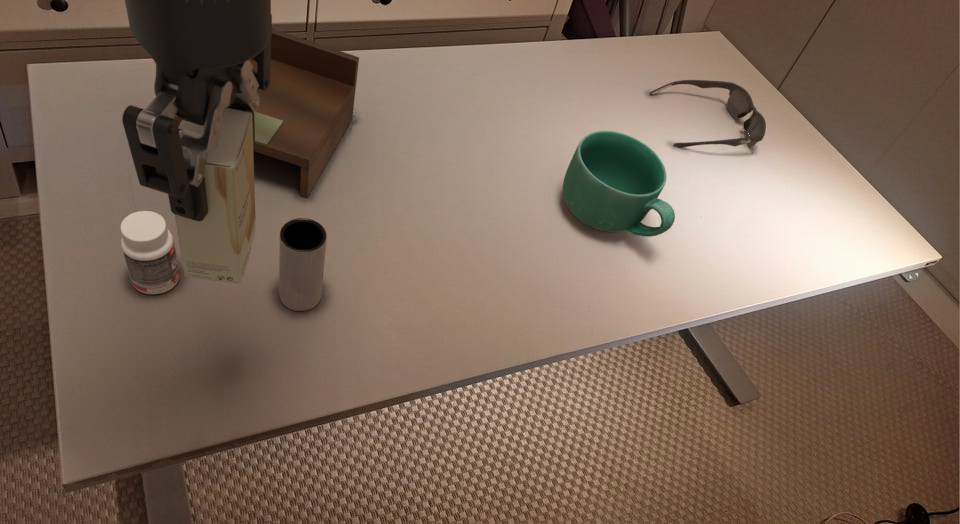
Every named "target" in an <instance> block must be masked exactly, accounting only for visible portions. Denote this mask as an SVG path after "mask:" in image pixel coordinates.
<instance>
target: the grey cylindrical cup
mask: <svg viewBox="0 0 960 524" xmlns="http://www.w3.org/2000/svg"><path fill="white" fill-rule="evenodd" d="M327 236H328V235H327V231H326V229H325V228H324V226H323V225H322V224H321V223H320V222H318V221H316V220H314V219H311V218H305V217H298V218H294V219H291V220H289V221H287V222H286V223H285V224H283V225H282V227H281V229H280V231H279V254H278V255H279V258H278V259H279V262H278V265H279V267H278V270H279V271H278V273H279V274H278V276H279V277H278V278H279V279H278V282H279V283H278V295H279V300H280V301H281V303H282V305H283V306H284V307H286V308H287V309H289V310H292V311H296V312H306V311H309V310H311V309H314V308H315V307H316V306H318V305H319V303H320V301H321V299H322V294H323V282H324V274H325V273H324V272H325V261H326V260H325V259H326V249H327V238H328V237H327Z"/></svg>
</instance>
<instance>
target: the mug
mask: <svg viewBox="0 0 960 524" xmlns="http://www.w3.org/2000/svg"><path fill="white" fill-rule="evenodd" d="M570 159H571V160H570V162H569V164H568V167H567V169H566V171H565V173H564V174H565V175H564V178H563V183H562V195H563V198H564V201H565V204H566V206H567V208H568V210H570V212H571V213H572V214H573V215H574V216H575V218H577V219H578V220H579V221H581V222H582V223H584V224H585V225H587V226H588V227H591V228H593V229H594V230H598V231H602V232H606V233H607V232H608V233H619V232H620V233H621V232H625V231H627V232H628V233H631V234H632V235H636V236H640V237H650V238H651V237H656V236H659V235H662V234H663V233H666V232H667V231H669V230H670V229H671V228H672V227H673V225H674V222H675V219H676V213H675V210H674V208H673V206H672V205H671V204H670V203H668V202H667V201H665V200H662V199H661V198H658V197H659V196H660V195H661V193H662V191H663V190H664V188H665V186H666V183H667V171H666V167H665V165H664V162H663V161H662V160H661V158H660V157H659V155H658V154H657V153H656V152H655V151H654V150H653V149H652V148H651V147H650V146H648V145H647V144H646V143H644V142H642V141H641V140H639V139H637V138H635V137H633V136H631V135H628V134H625V133H623V132H617V131H613V130H598V131H593V132H590V133H588V134H587V135H585V136H584V137H583V138H582V139H581V140H580V141H579V142H578V144H577V147H576V148H575V151H574V154H573V155H572V157H571V158H570ZM651 210H654V211H655V212H657V213H658V215H659V217H660V221H661V222H660V225H659V226H650V225H647V224H645V223H643V222H642V221H643V220H644V219H645V218H646V216H647V215H649V213H650V211H651Z"/></svg>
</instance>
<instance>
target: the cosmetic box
mask: <svg viewBox="0 0 960 524" xmlns="http://www.w3.org/2000/svg"><path fill="white" fill-rule="evenodd" d="M179 127H180V128H183V129H186V130H189V131H192V132H195V133H198V134H201V135H202V134H203V131H204V126H200V125H197V124H194V123H191V122H188V121H185V120H182V121H181V123H180V125H179ZM182 149H183V154H184V160H185V163H187V164H190V161H191V155H192V152H191V150H190V149H189V148H188V147H185V146H182ZM254 157H255V156H254V151H253V124H252V113H251V112H246V111H241V110H236V109H230V108H227V109H225V110H224V114H223V119H222V124H221V130H220V135H219V140H218V145H217V147H216V148H215V149H214V150H211V151H209V152H208V155H207V160H206V166H205V171H204V177H205V186H206V195H207V204H208V214H207V215H206V217H205V218H204V219H203V221H196V220H191V219H188V218H185V217H182V216H179V215H175V214H174V219H175V225H176V231H177V237H178V244H179V250H180V257H181V264H182V271H183V276H184V277H185V278H190V279H197V280H204V281H211V282H218V283H219V282H220V283H228V284H229V283H230V284H241V282H242V280H243V278H244V274H245V272H246V269H247V265H248V262H249V259H250V256H251V253H252V247H253V243H254V238H255V235H256V234H255V233H256V229H257V221H256V220H257V219H256V217H257V216H256V198H255V197H256V196H255V195H256V193H255V190H256V189H255V162H254Z"/></svg>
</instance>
